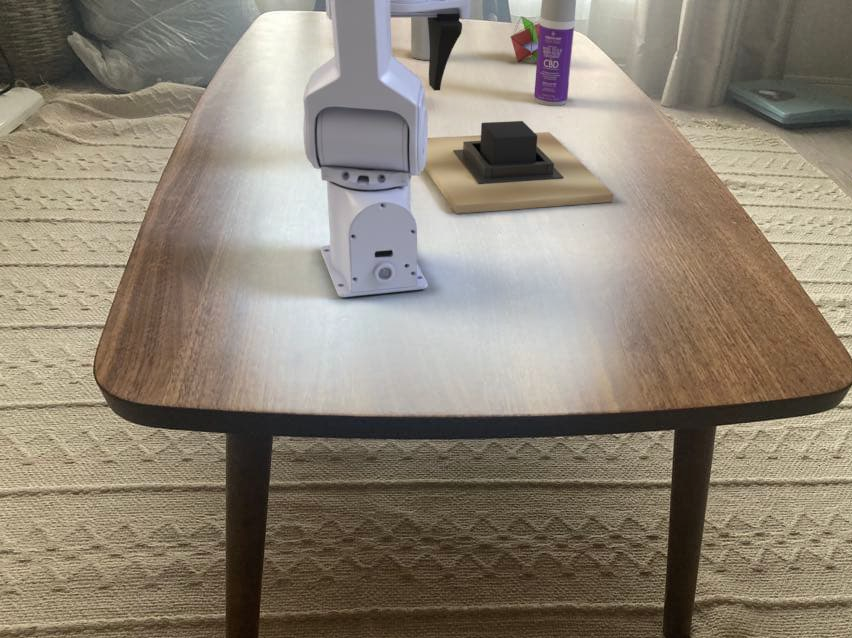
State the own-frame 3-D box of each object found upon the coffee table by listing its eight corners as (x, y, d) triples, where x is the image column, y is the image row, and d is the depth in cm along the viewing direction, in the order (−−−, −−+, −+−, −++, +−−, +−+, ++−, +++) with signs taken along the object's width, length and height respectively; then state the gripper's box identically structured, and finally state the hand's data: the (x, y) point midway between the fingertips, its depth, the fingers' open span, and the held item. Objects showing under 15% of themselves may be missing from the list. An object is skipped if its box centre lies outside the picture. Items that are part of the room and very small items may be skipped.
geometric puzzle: (511, 55, 141) (543, 9, 139) (492, 43, 146) (522, -2, 144) (542, 81, 146) (573, 38, 144) (523, 69, 151) (552, 26, 149)
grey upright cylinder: (406, 57, 143) (406, -15, 137) (418, 50, 147) (418, -20, 141) (433, 62, 142) (434, -10, 136) (444, 55, 146) (446, -16, 140)
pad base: (612, 202, 103) (615, 180, 101) (455, 214, 97) (456, 191, 96) (548, 139, 118) (550, 119, 116) (409, 146, 112) (409, 126, 111)
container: (538, 106, 129) (548, -11, 120) (530, 95, 132) (538, -19, 124) (571, 105, 130) (582, -10, 121) (561, 95, 134) (572, -18, 125)
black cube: (535, 170, 106) (537, 135, 103) (493, 172, 104) (495, 137, 102) (520, 154, 109) (522, 120, 107) (479, 156, 108) (481, 122, 106)
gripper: (458, -57, 97) (454, 75, 105) (317, -60, 92) (325, 79, 100) (478, -43, 92) (473, 95, 100) (330, -46, 87) (337, 99, 95)
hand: (399, 88), depth 100 cm, fingers open, 7 cm apart
